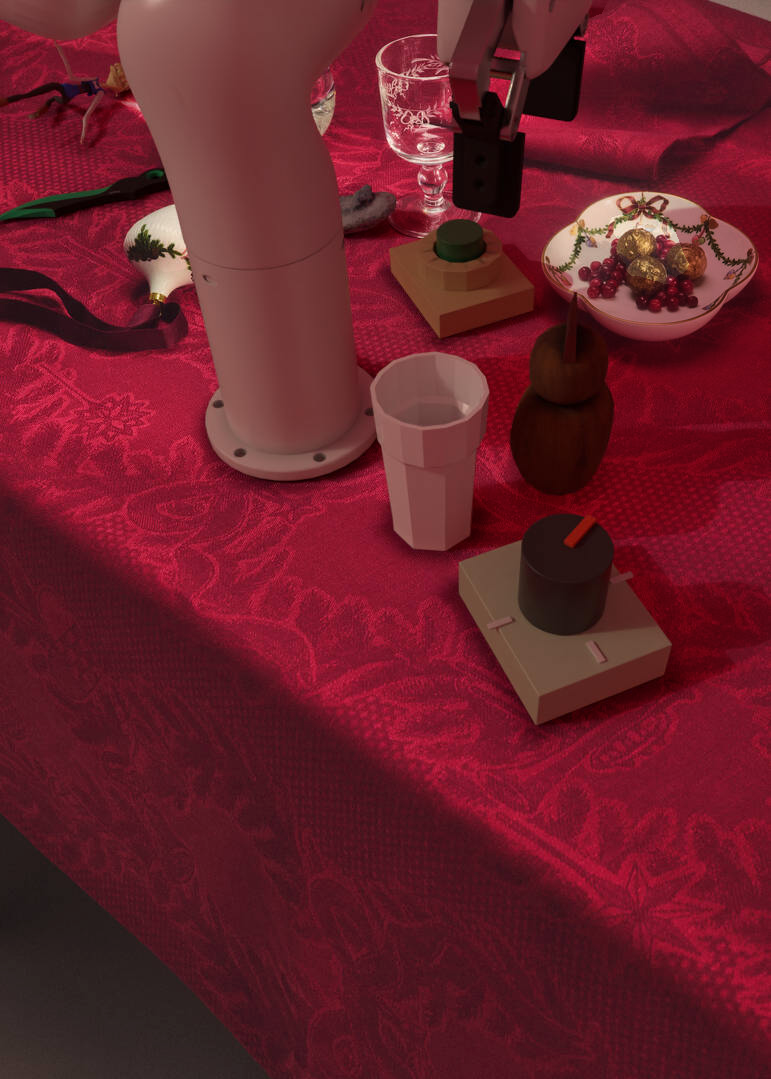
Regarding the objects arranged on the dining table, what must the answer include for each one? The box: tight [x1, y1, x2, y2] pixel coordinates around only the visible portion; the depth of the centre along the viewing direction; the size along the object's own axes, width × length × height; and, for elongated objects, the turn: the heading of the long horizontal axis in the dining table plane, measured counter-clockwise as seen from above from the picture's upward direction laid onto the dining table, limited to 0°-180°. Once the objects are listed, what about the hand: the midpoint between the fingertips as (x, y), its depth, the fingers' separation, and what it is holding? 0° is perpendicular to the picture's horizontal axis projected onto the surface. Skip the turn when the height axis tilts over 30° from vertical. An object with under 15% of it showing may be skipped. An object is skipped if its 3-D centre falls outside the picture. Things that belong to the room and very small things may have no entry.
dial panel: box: [458, 539, 673, 726], centre depth 57 cm, size 10×9×3 cm
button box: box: [389, 227, 536, 339], centre depth 79 cm, size 10×8×4 cm
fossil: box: [339, 184, 398, 235], centre depth 86 cm, size 8×4×5 cm
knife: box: [0, 167, 170, 222], centre depth 94 cm, size 23×1×5 cm
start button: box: [436, 218, 484, 263], centre depth 77 cm, size 4×4×2 cm
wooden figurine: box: [509, 291, 615, 496], centre depth 60 cm, size 7×6×15 cm
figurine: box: [0, 40, 130, 146], centre depth 101 cm, size 10×9×20 cm
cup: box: [370, 351, 490, 552], centre depth 60 cm, size 7×7×11 cm
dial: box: [518, 513, 615, 635], centre depth 54 cm, size 5×5×5 cm
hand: (517, 160), depth 50 cm, fingers open, 9 cm apart
